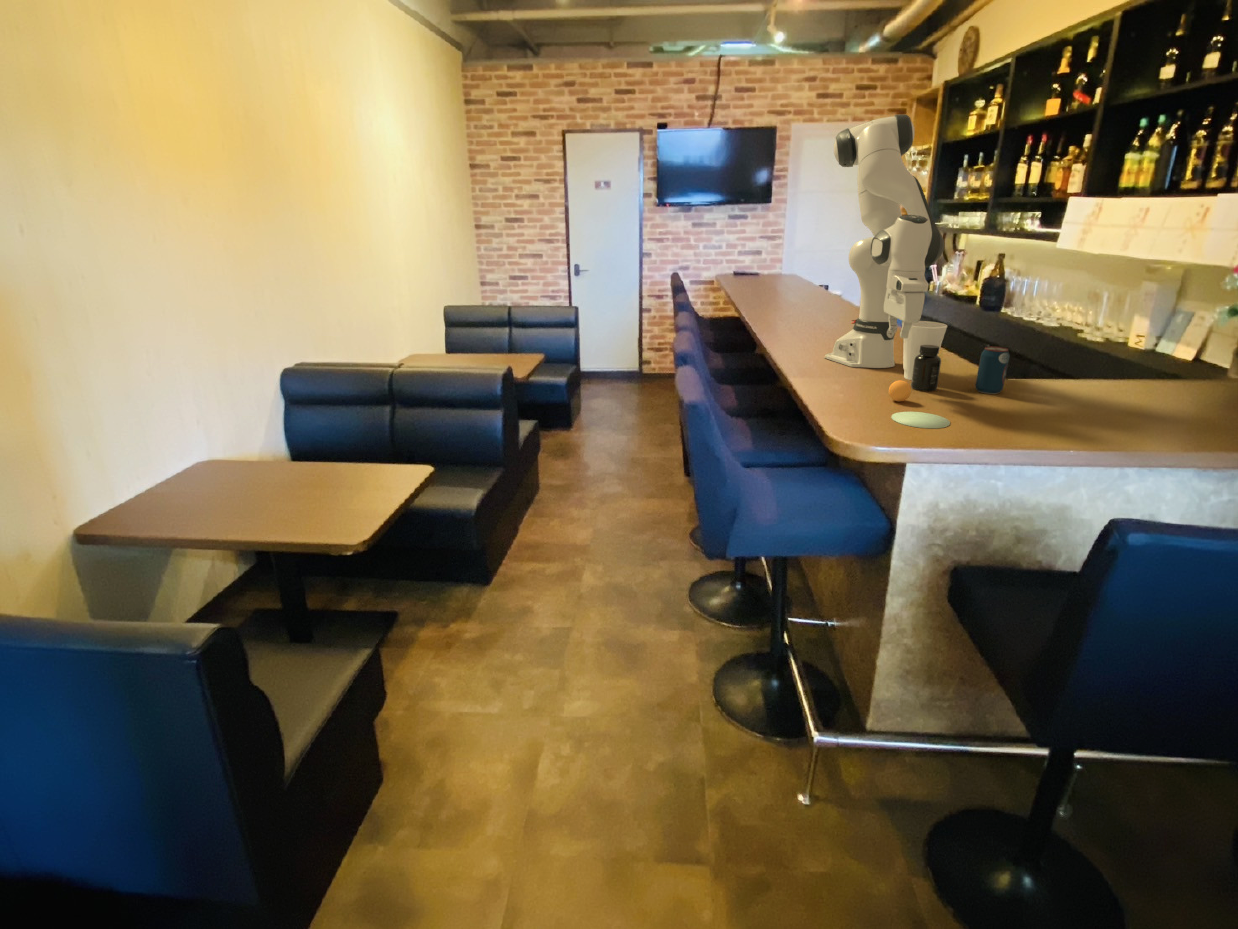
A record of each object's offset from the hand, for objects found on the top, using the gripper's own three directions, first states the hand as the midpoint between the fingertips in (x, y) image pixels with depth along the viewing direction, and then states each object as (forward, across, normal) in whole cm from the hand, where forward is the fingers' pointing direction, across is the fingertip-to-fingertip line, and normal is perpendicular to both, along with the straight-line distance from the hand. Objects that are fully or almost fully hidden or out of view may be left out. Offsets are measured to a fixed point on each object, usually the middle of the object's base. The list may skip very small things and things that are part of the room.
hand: (897, 334), depth 185 cm
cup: (+16, -17, +13) cm, 27 cm away
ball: (+13, +9, -1) cm, 16 cm away
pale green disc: (+16, +26, -1) cm, 31 cm away
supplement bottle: (+16, -5, +10) cm, 20 cm away
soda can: (+16, -3, +27) cm, 32 cm away
